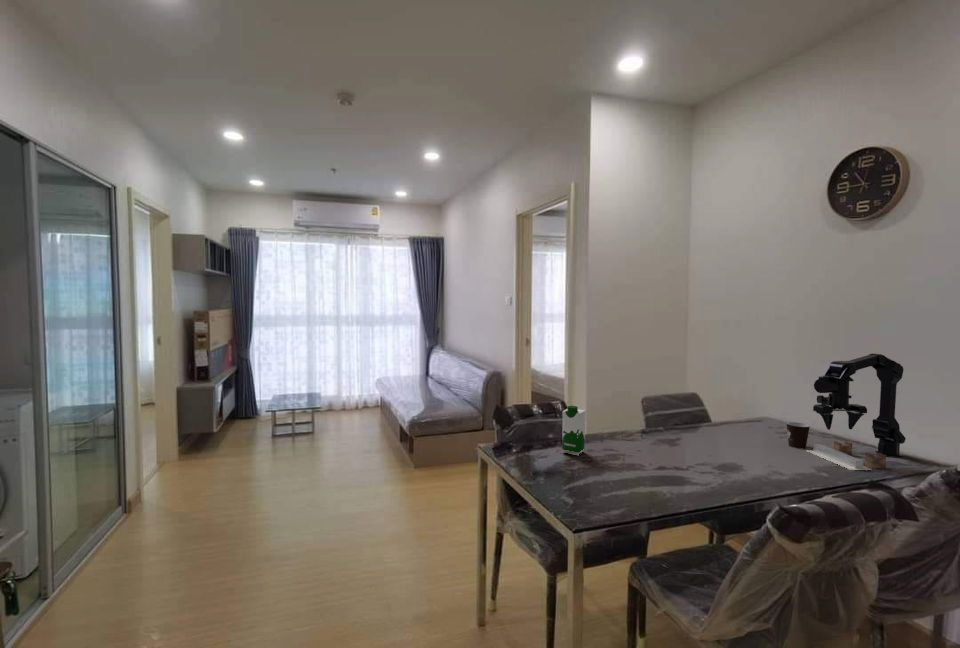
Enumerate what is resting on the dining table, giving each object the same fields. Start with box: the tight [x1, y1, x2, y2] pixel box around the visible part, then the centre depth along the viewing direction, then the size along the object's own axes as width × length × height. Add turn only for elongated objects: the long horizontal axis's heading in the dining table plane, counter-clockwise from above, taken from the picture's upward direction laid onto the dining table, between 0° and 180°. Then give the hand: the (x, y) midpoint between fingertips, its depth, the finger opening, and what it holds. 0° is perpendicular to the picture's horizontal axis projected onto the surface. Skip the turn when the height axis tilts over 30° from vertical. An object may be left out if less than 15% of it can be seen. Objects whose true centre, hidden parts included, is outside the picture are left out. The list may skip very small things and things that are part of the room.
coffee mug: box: [786, 421, 811, 449], centre depth 208 cm, size 12×9×10 cm
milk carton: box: [561, 405, 587, 452], centre depth 192 cm, size 9×9×20 cm
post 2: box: [864, 452, 887, 469], centre depth 180 cm, size 6×3×5 cm, turn 91°
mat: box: [805, 449, 872, 472], centre depth 188 cm, size 8×24×1 cm, turn 1°
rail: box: [813, 443, 864, 469], centre depth 188 cm, size 3×22×3 cm, turn 1°
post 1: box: [833, 440, 853, 456], centre depth 196 cm, size 6×3×5 cm, turn 91°
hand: (839, 429), depth 190 cm, fingers open, 9 cm apart
